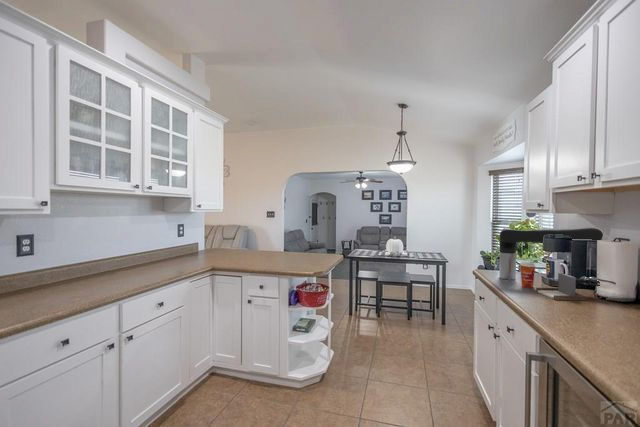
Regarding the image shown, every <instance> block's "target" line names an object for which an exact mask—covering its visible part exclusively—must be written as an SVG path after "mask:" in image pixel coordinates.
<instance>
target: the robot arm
mask: <svg viewBox="0 0 640 427" xmlns="http://www.w3.org/2000/svg"><path fill="white" fill-rule="evenodd" d="M545 234H554V235H555V234H563V235H571V237H572V239H592V240H601V241H602V239H603V237H604V233H603V232H602V230H600V229H599V228H595V227H581V228H537V229H536V228H534V229H529V230H527V229H526V230H518V229H513V228H503V229H502V230H501V231H500V233H499V264H498V265H499V268H498V269H499V273H498V274H499V278H500V279H504V280H514V281H515V280H517V279H516V276H517V275H516V274H517V272H516V271H517V269H516V268H517V259H516V258H517V243H533V244H544V243H543V236H544V235H545ZM596 277H597V275H596V276H590V277H586V276H581V277H579V278H576V284H580V285H581V284H583V285H587V286H593V287H598V286H600V282H599V281H597V278H596Z"/></svg>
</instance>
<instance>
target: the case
mask: <svg viewBox="0 0 640 427" xmlns="http://www.w3.org/2000/svg"><path fill="white" fill-rule="evenodd" d="M538 290H551V291H558V287H535V291H536V292H537V293H539V292H538ZM553 300H556V301H557V300H558V301H587V296H586V295H584V294H581V293H578V292H576V295H575V296H565V295H554V299H553Z"/></svg>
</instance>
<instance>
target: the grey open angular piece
mask: <svg viewBox="0 0 640 427" xmlns="http://www.w3.org/2000/svg"><path fill="white" fill-rule="evenodd" d="M557 278H558V279H557V280H558V281H557V288H558V291H551V290H538V292H537V293H539V294H541V295H544V296H545V297H548V298H550V299H553V300H555V299H554V295H565V296H575V295H576V293H577V291H576V288H577V287H576V284H577V283H576V279H577V278H576V277H575V276H572V275H569V274H565V273H562V272H558V276H557Z"/></svg>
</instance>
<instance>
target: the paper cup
mask: <svg viewBox="0 0 640 427" xmlns="http://www.w3.org/2000/svg"><path fill="white" fill-rule="evenodd" d="M519 265H520V278H521V287H523V288H530V289H531V288H534V280H535V270H536V269H535V268H536V265H535V263H534V262H525V261H524V262H520V264H519Z"/></svg>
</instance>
